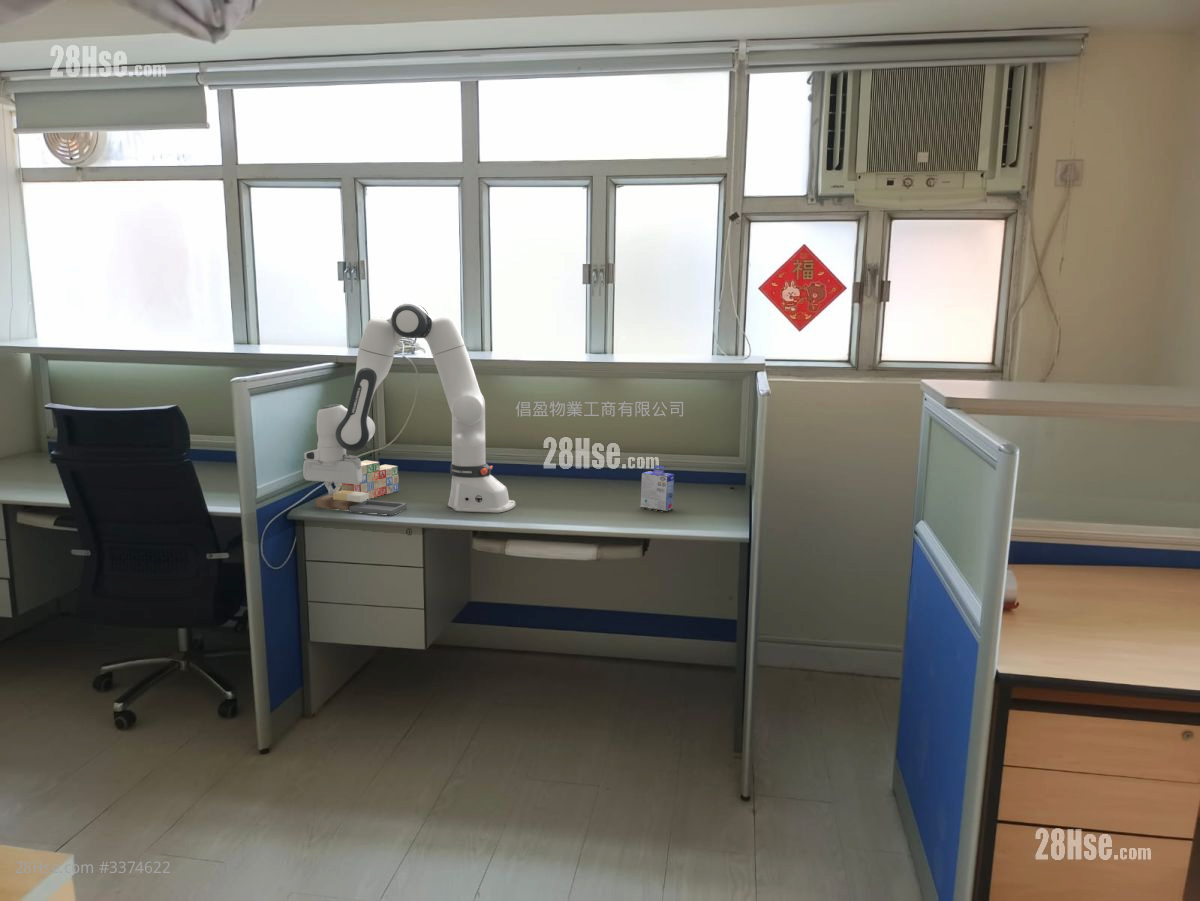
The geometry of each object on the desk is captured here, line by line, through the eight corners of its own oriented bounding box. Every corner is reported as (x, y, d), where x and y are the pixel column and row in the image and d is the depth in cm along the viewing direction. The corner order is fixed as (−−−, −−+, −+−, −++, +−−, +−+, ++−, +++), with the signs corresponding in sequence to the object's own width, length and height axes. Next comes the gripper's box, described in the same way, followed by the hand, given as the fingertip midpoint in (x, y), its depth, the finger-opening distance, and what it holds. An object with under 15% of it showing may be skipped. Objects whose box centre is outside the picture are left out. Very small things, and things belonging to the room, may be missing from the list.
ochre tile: (355, 497, 267) (355, 491, 267) (346, 500, 263) (346, 494, 262) (341, 496, 269) (341, 490, 268) (333, 499, 264) (333, 493, 264)
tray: (406, 508, 266) (406, 503, 266) (391, 516, 256) (391, 510, 256) (366, 505, 270) (366, 499, 269) (349, 512, 260) (349, 506, 260)
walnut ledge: (362, 505, 269) (361, 496, 269) (348, 511, 262) (348, 502, 261) (330, 502, 272) (329, 493, 272) (316, 508, 265) (315, 499, 264)
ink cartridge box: (673, 509, 272) (675, 466, 269) (666, 512, 267) (667, 469, 264) (647, 505, 277) (648, 463, 274) (640, 508, 272) (641, 466, 270)
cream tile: (368, 498, 266) (368, 492, 266) (360, 502, 261) (360, 496, 261) (355, 497, 267) (355, 491, 267) (346, 500, 263) (346, 494, 262)
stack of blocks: (386, 489, 294) (385, 455, 291) (399, 491, 291) (398, 457, 288) (341, 501, 275) (339, 465, 273) (354, 503, 272) (353, 467, 270)
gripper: (365, 454, 265) (367, 495, 267) (311, 450, 270) (312, 490, 272) (354, 457, 259) (356, 499, 261) (299, 453, 264) (301, 494, 266)
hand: (333, 495), depth 267 cm, fingers closed
